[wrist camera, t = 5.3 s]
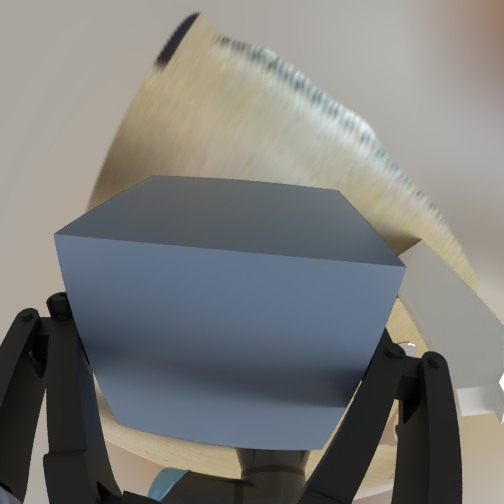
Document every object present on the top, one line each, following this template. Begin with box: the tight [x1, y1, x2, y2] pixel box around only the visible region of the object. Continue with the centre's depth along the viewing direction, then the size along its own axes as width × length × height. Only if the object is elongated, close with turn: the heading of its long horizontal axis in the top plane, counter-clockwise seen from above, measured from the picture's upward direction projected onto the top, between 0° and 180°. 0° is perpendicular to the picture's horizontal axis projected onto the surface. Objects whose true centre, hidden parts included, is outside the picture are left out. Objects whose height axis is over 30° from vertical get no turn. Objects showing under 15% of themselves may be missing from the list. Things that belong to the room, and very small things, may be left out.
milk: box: [397, 240, 504, 424], centre depth 22 cm, size 6×6×22 cm
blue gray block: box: [54, 176, 407, 450], centre depth 13 cm, size 10×10×9 cm
